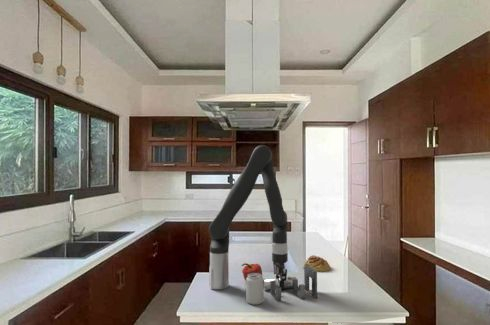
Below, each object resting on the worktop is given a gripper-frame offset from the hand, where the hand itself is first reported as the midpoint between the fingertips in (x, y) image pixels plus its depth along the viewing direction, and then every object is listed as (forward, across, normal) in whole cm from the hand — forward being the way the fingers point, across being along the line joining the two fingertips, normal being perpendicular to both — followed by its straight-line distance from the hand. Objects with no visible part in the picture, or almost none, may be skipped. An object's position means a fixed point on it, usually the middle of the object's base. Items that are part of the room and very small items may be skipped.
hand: (280, 286), depth 170 cm
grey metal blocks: (+1, +10, -6) cm, 11 cm away
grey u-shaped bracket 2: (+1, +10, +6) cm, 11 cm away
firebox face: (+1, +10, +12) cm, 15 cm away
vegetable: (+1, -12, -11) cm, 16 cm away
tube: (+1, 0, 0) cm, 1 cm away
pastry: (+1, -25, +31) cm, 40 cm away
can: (+1, +13, -16) cm, 21 cm away
